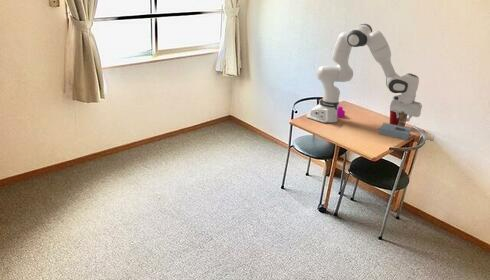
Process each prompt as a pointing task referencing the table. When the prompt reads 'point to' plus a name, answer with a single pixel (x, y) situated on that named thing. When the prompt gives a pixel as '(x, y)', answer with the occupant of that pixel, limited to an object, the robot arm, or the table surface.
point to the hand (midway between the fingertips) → (402, 119)
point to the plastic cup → (394, 117)
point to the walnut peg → (402, 119)
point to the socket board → (395, 131)
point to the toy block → (340, 112)
